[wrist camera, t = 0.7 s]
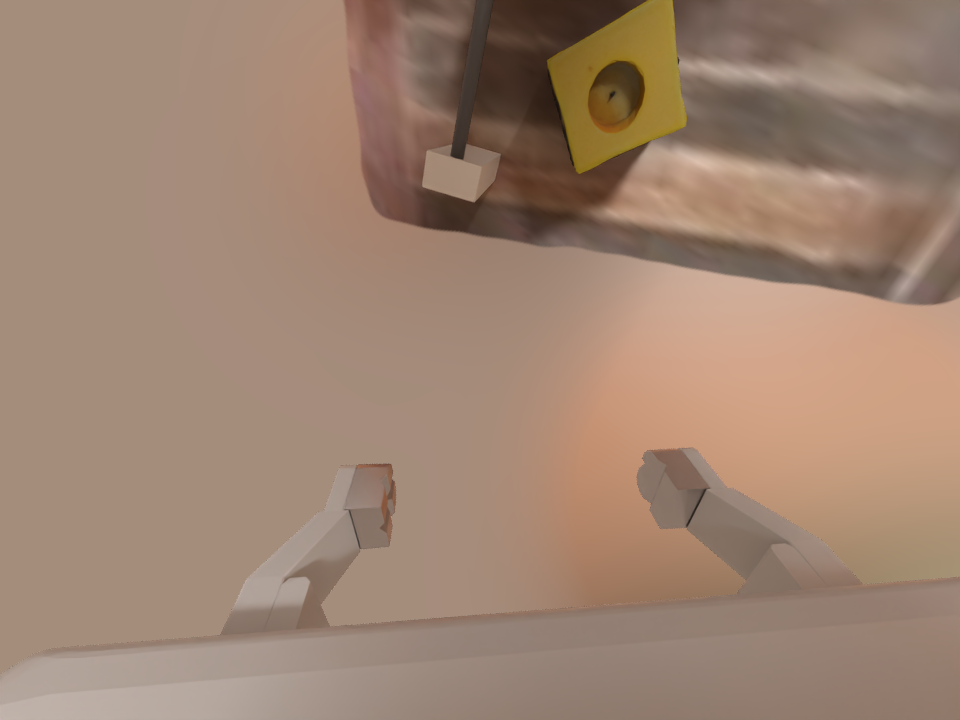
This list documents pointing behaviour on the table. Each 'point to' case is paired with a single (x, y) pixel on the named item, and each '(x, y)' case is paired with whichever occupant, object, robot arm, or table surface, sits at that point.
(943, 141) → the table surface
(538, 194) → the table surface
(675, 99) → the candle
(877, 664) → the robot arm
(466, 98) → the frame
